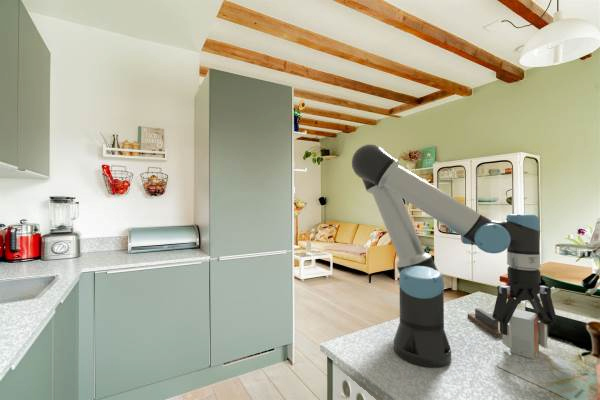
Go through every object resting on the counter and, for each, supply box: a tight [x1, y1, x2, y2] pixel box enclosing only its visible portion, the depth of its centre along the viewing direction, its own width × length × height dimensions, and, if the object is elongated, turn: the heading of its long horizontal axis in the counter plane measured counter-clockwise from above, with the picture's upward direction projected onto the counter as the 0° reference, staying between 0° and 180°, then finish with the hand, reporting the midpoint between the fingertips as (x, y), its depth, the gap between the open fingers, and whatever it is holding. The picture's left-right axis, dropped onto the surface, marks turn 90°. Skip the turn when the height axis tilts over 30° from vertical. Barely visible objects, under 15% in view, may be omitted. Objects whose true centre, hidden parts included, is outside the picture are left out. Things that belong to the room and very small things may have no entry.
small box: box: [509, 308, 540, 360], centre depth 82 cm, size 8×6×10 cm
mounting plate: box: [467, 308, 510, 339], centre depth 98 cm, size 15×16×4 cm
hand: (524, 345), depth 82 cm, fingers closed on small box, 9 cm apart
